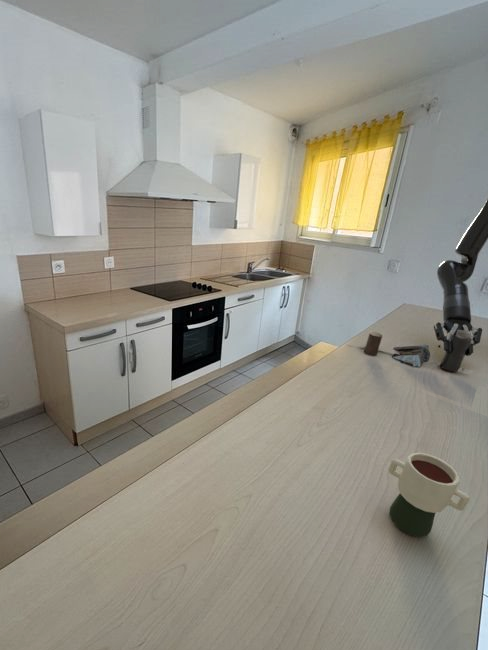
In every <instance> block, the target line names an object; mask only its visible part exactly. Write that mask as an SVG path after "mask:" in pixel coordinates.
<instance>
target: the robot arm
mask: <svg viewBox="0 0 488 650" xmlns="http://www.w3.org/2000/svg"><path fill="white" fill-rule="evenodd" d="M487 241H488V198H487V199H486V201H485V203H484V205H483V207H482V208H481V209H480V212H478V214H477V216H476V217H475V218H474V220H473V221H472V222H471V224H470V225H469V226H468V228H467V229H466V231H465V232H464V234H463V236H462V237H461V239H460V241H459V243H458V244H457V246H456V247H455V250H454V252H455V253H456V254H457V255H458V256H460V257H461V260H460V261H456V260H453V259H448V260H444V261H442V262H441V263H440V264H439V266H438V267H437V270H436V272H437V273H436V275H437V279H438V281H439V284H440V287H441V289H442V291H443V293H442V294H443V295H442V296H443V302H442V316H443V319H442V320H443V321H442V322H443V323H441V322H439V321H438V322H436V323H435V324H434V325H433V330H434V333H435V337H436V340H437V341H441V342H443V350H444V351H445V352H446V353H449V352H451V350H452V348H451V341H450V340H451V338H452V335H454V334H456V333H457V331H458V330H465V331H468V332H470V333H471V335H470V337H469V338H471V339H472V340H471V343H470V345H469V347H468V350H467V352H466V354H465V356H467V357H470V356H472V354H474V346H476V345H478V344H480V343H481V338H482V334H483V328H482V327H478V328H476V327H473V325H472V314H471V313H472V311H471V302H470V297H469V286H468V285H467V283H465V282H467V281H468V280H470V278H471V277H472V276H473V274H474V271H475V268H476V265H477V261H478V258H479V254H480V253H481V251H482V249H483V248H484V246H485V245H486V243H487ZM443 329H444V330H445V331H446V333H444V330H443Z"/></svg>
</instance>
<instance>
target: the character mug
mask: <svg viewBox="0 0 488 650" xmlns="http://www.w3.org/2000/svg"><path fill="white" fill-rule="evenodd" d="M397 467H399V468H401V469H402V470H401V472H399V471H397V470H396V469H397ZM387 471H388V473H389V474H390V475H391V476H394V477H395V478H397V479H398V481H397V488H398V492H399V494H398V495H397V496H396V498H395V499H394V501H393V502H392V504H391V505H390V506H389V516H390V518H391V520H392V522H393V523H394V524H395V525H396V527H397V528H398V529H400V530H401V531H402V532H404V533H406V534H407V535H410V536H414V537H417V538H422V537H427V536H428V535H429V534H430V533H431V531H432V529H433V525H434V520H435V516H436V514H437V513H441V512H443V511H444V510H445V509H446V508H447V507H448V506H450V507H452V508H453V509H455V510H457V511H460V512H462V511H464V510H465V509H466V507H467V505H468V503H469V502H470V496H469V495H468V494H467V493H466V492H463V491H462V490H459V489H458V486H459V484H460V476H459V474H458V473H457V471H456V470H455V468H454V467H452V466H451V464H449V463H447V462H446V461H444V460H443V459H441V458H439V457H438V456H435V455H432V454H430V453H429V454H428V453H424V452H414V453H413V452H412V453H411V454H410V455H408V456H407V458H406V460H405V462H403V461H402V460H400V459H397V458H392V459H391V461H390V464H389V466H388V470H387ZM453 496H456V497H458V498H459V500H458V502H457V501H454V500H453V499H452V498H453Z"/></svg>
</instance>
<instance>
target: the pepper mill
mask: <svg viewBox="0 0 488 650" xmlns="http://www.w3.org/2000/svg"><path fill="white" fill-rule="evenodd" d="M470 335H471V336H472V332H471V331H470V332H468V331H465V330H458V331H457V333H456V334H454V335H452V338H451V340H450V341H451V348H452V350H451V352H449V353H446V351H445V353H444V355H443V357H442V360H441V362H440V364H439V367H440V368H442V369H444V370H446V371H448V372H454V373H456V372H457V373H458V372H459V370H460V368H461V366H462V363H463V361H464V359H465V356H466V355H465V354H466V352H467V350H468V347H469V345H470V343H471V340H472V339H471V338H472V337H471V338H469V337H470Z"/></svg>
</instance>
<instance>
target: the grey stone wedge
mask: <svg viewBox="0 0 488 650" xmlns="http://www.w3.org/2000/svg"><path fill="white" fill-rule="evenodd" d="M392 350H394V351H398V353H394V354H392V356H391V358H392V359H395V360H398V361H400V363H402V364H405V363H407V364H410V365H412V367H418V368H421V367H422V365H423V364H424V363H427V362H429V360H430V358H431V352H430V350H429V345H427V344H422V345H408V346H407V345H405V346H404V345H403V346H394V347H393V348H392Z"/></svg>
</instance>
